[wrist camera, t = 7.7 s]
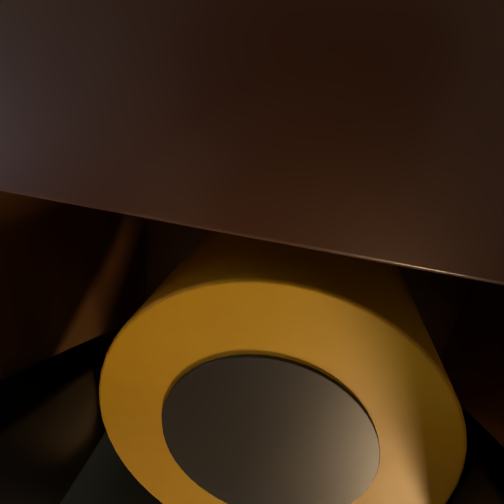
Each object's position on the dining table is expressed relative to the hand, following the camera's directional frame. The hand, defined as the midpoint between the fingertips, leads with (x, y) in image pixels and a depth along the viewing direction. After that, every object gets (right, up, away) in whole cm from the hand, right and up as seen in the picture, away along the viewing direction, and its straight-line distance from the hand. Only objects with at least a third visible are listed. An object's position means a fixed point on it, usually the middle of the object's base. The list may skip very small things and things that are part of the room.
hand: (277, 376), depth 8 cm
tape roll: (+1, +1, +3) cm, 3 cm away
